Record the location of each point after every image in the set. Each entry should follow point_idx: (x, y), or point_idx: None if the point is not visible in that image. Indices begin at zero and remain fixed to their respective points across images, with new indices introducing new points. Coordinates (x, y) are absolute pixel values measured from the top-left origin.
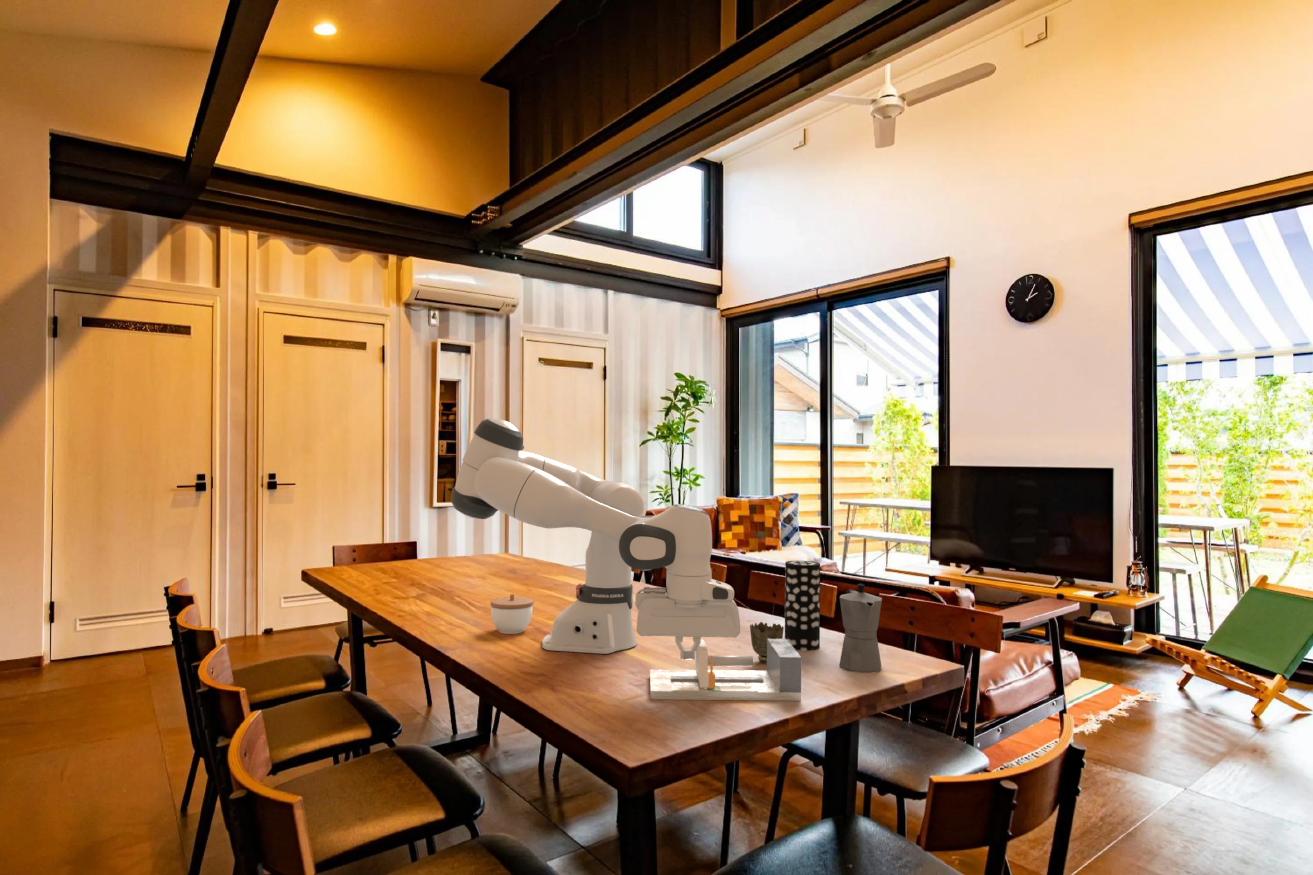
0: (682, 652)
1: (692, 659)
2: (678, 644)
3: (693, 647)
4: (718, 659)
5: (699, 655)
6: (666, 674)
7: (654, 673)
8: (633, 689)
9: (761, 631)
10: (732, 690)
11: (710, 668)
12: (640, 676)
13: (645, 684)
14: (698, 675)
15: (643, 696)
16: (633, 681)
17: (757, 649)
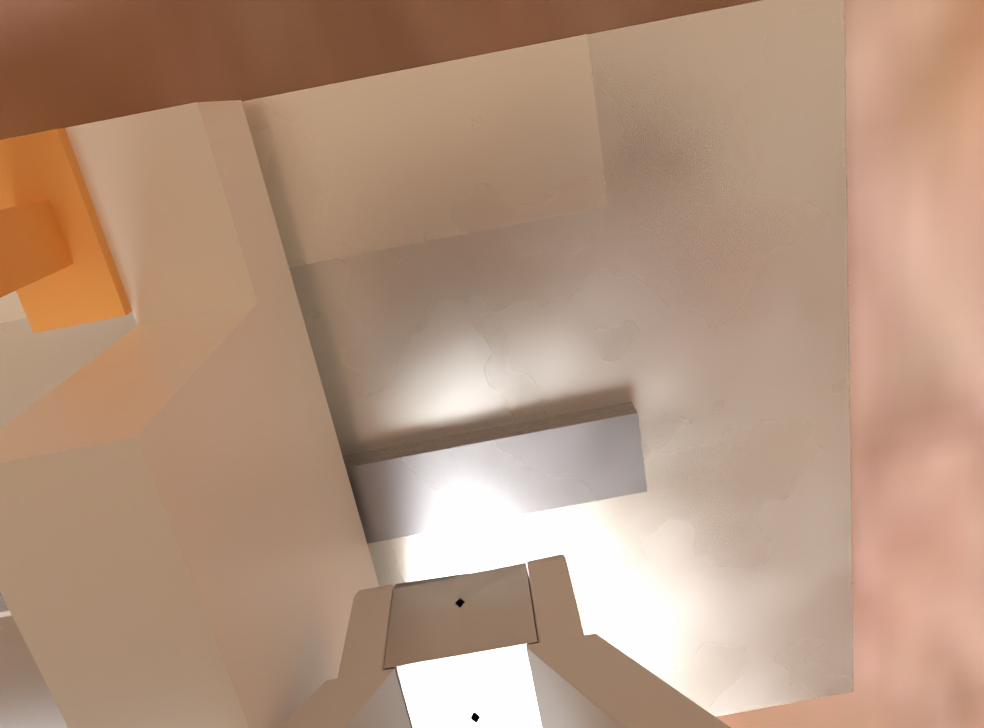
0: (552, 618)
1: (390, 588)
2: (660, 705)
3: (354, 725)
4: (4, 657)
5: (170, 399)
6: (690, 588)
7: (808, 592)
8: (971, 282)
9: None
10: None
11: (9, 230)
12: (899, 635)
13: (855, 447)
14: (299, 371)
15: (874, 82)
16: (963, 501)
17: None
